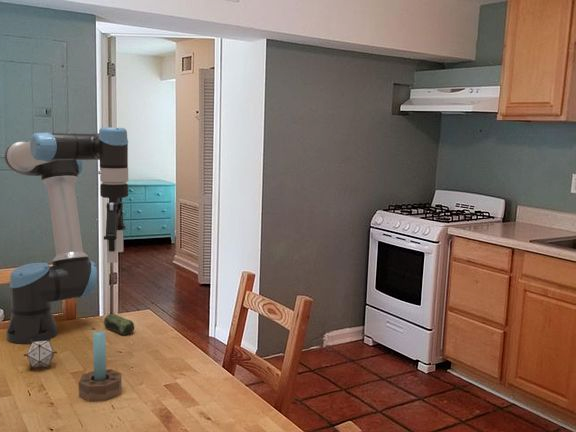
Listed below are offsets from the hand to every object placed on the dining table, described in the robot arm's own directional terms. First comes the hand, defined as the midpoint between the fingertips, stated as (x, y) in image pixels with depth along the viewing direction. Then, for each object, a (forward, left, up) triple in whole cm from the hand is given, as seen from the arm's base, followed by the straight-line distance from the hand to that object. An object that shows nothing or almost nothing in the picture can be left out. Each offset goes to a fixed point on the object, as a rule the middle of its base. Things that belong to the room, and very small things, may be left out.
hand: (115, 257), depth 162 cm
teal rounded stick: (+19, -2, -32) cm, 37 cm away
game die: (+1, -21, -32) cm, 38 cm away
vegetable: (-27, -3, -32) cm, 42 cm away
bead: (+19, -2, -32) cm, 37 cm away
